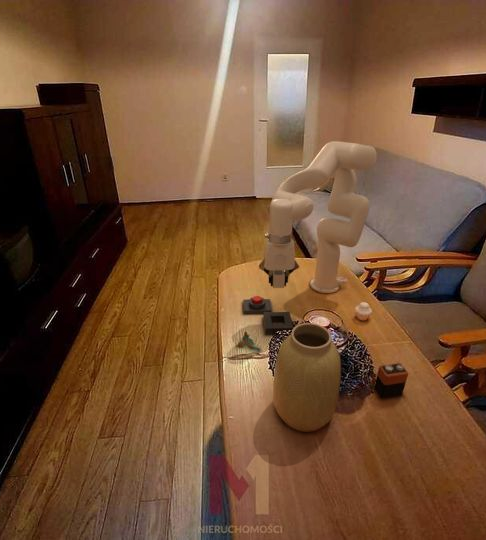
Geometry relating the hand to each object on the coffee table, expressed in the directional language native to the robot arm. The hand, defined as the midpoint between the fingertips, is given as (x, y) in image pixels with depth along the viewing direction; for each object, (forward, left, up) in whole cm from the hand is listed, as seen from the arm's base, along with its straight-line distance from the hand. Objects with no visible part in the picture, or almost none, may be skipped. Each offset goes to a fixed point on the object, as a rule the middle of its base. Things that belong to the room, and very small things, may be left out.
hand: (278, 283), depth 124 cm
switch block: (+7, -10, -17) cm, 21 cm away
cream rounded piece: (-33, -2, -17) cm, 38 cm away
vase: (-3, +40, -17) cm, 44 cm away
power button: (+7, -10, -14) cm, 18 cm away
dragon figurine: (+11, +13, -17) cm, 24 cm away
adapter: (0, +2, -17) cm, 17 cm away
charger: (0, 0, 0) cm, 0 cm away
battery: (-29, +34, -17) cm, 48 cm away
